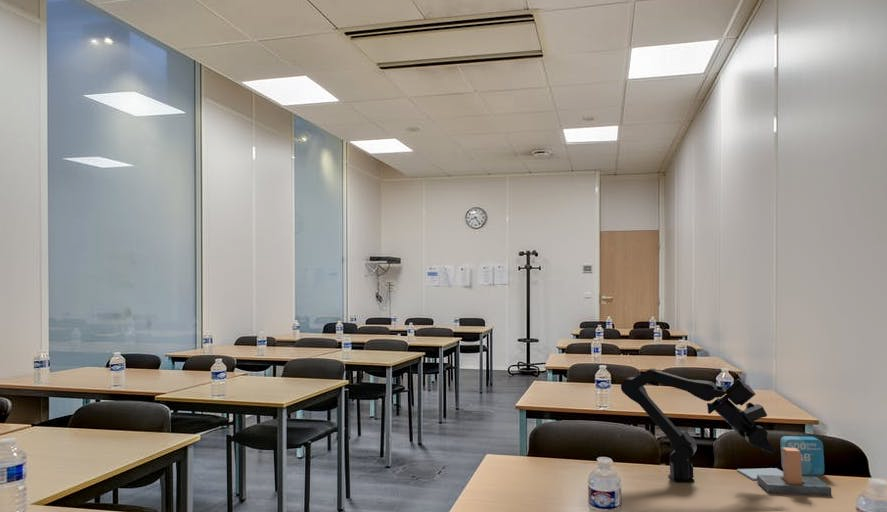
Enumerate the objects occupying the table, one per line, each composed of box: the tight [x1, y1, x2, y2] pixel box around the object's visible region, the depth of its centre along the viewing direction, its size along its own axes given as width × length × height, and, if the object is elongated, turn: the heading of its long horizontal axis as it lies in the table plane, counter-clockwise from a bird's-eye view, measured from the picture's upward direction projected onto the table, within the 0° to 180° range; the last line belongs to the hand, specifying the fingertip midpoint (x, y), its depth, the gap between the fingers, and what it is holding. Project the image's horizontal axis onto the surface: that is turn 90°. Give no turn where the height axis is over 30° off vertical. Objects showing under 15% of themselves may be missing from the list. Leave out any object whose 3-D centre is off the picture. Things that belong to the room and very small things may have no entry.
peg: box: [782, 447, 803, 484], centre depth 186 cm, size 4×4×12 cm
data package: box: [779, 435, 825, 476], centre depth 202 cm, size 12×4×12 cm, turn 80°
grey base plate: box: [756, 475, 832, 497], centre depth 186 cm, size 18×10×2 cm, turn 79°
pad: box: [736, 467, 783, 481], centre depth 200 cm, size 14×10×1 cm
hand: (769, 448), depth 188 cm, fingers open, 9 cm apart
